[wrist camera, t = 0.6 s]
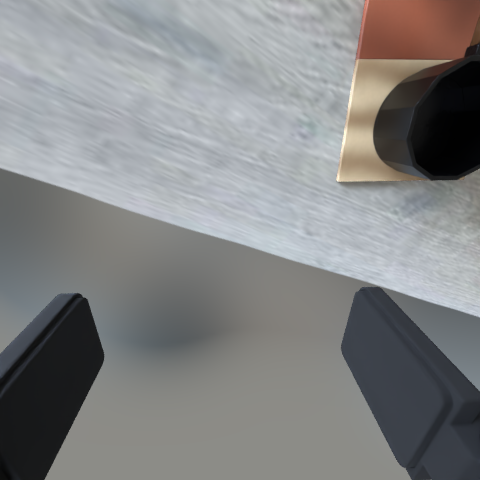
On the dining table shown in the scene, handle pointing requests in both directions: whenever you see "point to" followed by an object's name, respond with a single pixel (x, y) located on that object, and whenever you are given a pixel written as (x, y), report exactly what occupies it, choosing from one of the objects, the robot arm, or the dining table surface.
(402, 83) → the saucepan
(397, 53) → the board
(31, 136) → the dining table surface
